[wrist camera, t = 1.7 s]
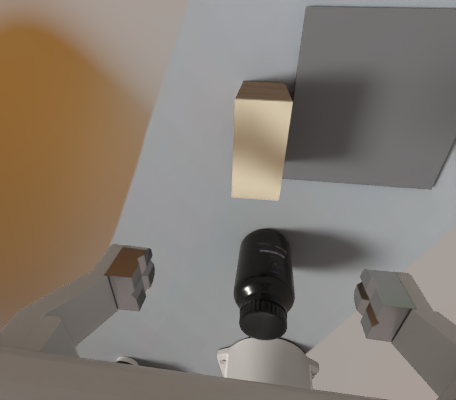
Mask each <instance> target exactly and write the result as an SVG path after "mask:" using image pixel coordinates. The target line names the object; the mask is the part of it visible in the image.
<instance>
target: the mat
mask: <svg viewBox="0 0 456 400" xmlns="http://www.w3.org/2000/svg"><path fill="white" fill-rule="evenodd" d="M455 138H456V9H426V8H368V7H310V6H307V7H306V11H305V18H304V25H303V32H302V39H301V46H300V53H299V61H298V68H297V75H296V82H295V89H294V96H293V105H292V112H291V119H290V126H289V133H288V140H287V147H286V154H285V161H284V168H283V175H282V179H294V180H308V181H321V182H335V183H349V184H362V185H376V186H390V187H403V188H417V189H430V190H431V189H432V187H433V184H434V182H435V180H436V178H437V176H438V174H439V172H440V170H441V168H442V166H443V163H444V161H445V159H446V157H447V155H448V153H449V151H450V149H451V147H452V145H453V142H454V140H455Z"/></svg>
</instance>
